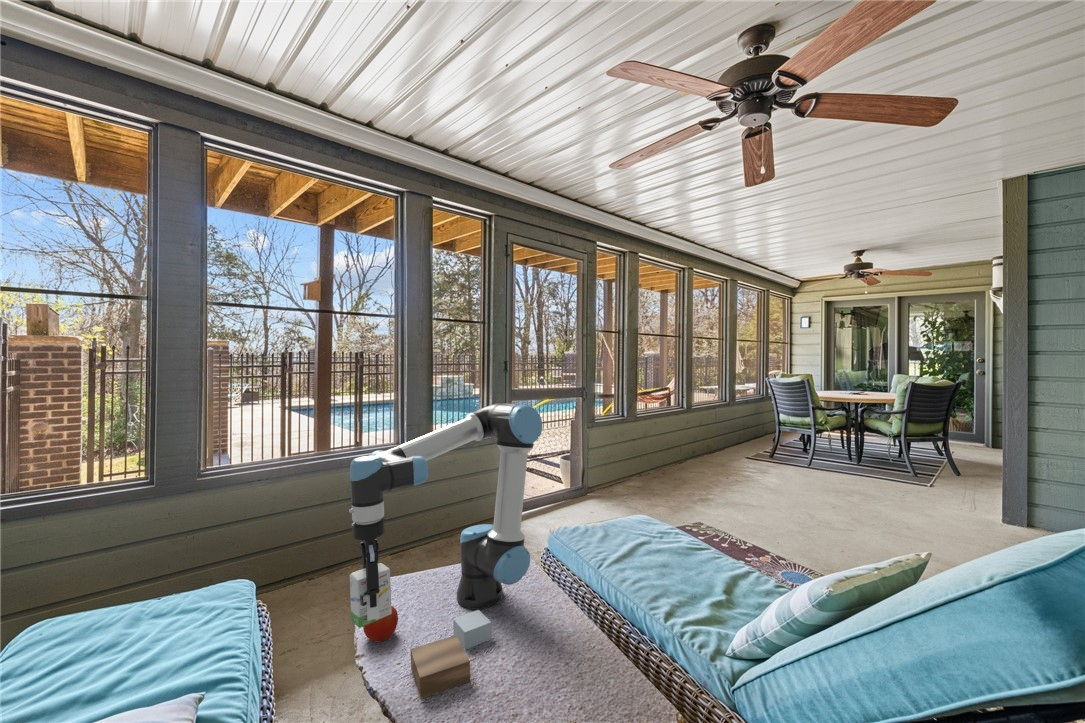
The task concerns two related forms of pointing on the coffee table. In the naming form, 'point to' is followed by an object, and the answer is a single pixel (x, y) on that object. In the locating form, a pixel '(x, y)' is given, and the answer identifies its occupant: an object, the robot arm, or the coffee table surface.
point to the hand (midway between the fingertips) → (371, 611)
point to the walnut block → (439, 666)
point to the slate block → (472, 629)
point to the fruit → (382, 627)
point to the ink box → (359, 600)
